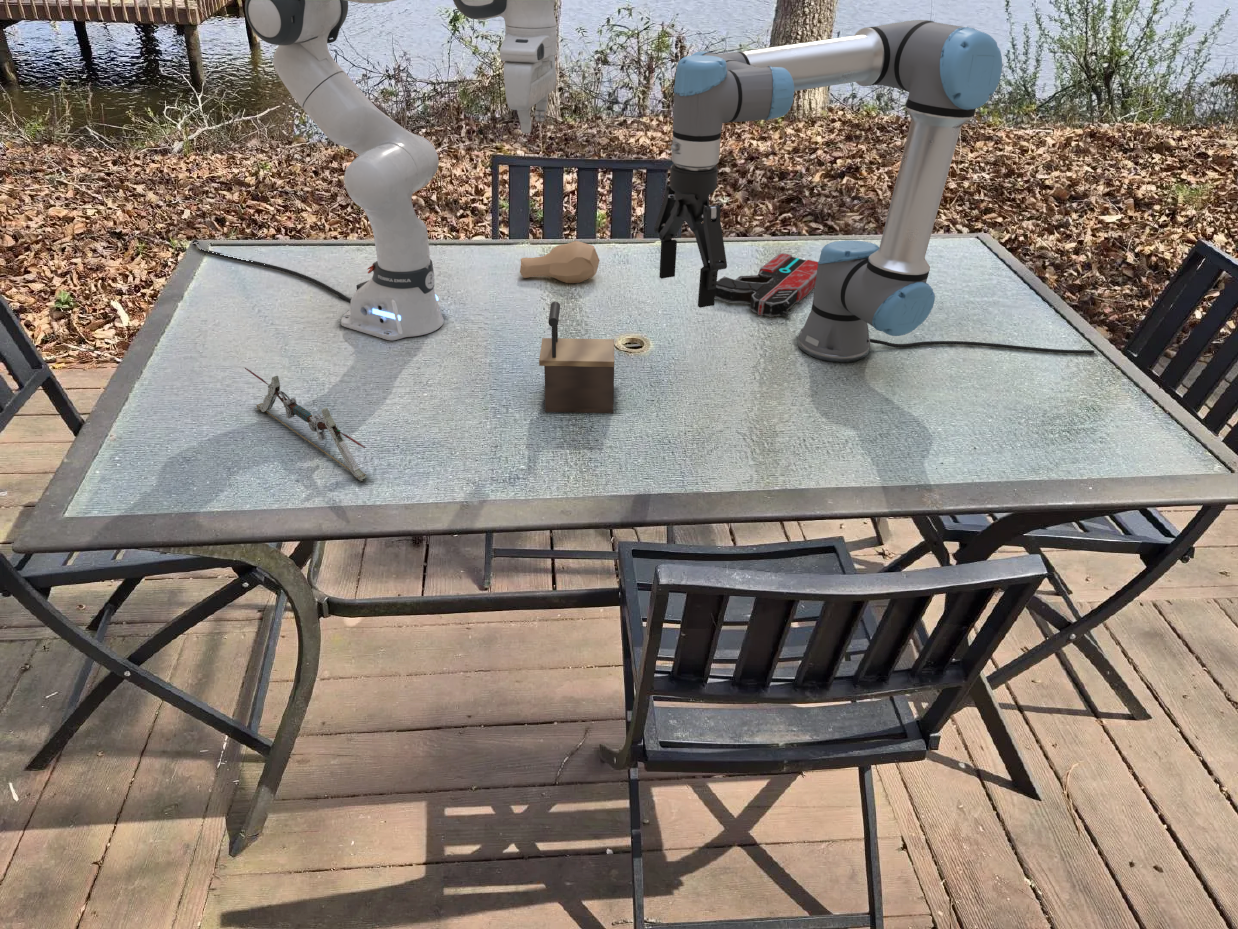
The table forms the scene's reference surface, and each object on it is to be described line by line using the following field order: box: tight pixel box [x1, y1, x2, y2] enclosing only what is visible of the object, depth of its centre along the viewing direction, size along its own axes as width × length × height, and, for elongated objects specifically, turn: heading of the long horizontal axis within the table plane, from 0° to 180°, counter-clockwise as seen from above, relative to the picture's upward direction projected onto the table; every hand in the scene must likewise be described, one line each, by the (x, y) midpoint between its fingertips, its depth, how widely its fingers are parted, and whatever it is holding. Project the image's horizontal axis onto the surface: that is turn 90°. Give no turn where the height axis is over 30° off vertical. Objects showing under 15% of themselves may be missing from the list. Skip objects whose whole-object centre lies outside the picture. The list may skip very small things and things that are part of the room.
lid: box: [538, 301, 615, 368], centre depth 161 cm, size 14×9×9 cm
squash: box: [519, 240, 600, 284], centre depth 218 cm, size 11×20×9 cm, turn 90°
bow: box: [244, 367, 368, 482], centre depth 151 cm, size 39×2×10 cm, turn 47°
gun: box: [715, 252, 818, 318], centre depth 215 cm, size 4×31×19 cm
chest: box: [543, 366, 615, 414], centre depth 166 cm, size 13×9×10 cm
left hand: (533, 126), depth 161 cm, fingers open, 8 cm apart
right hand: (685, 290), depth 150 cm, fingers open, 13 cm apart
